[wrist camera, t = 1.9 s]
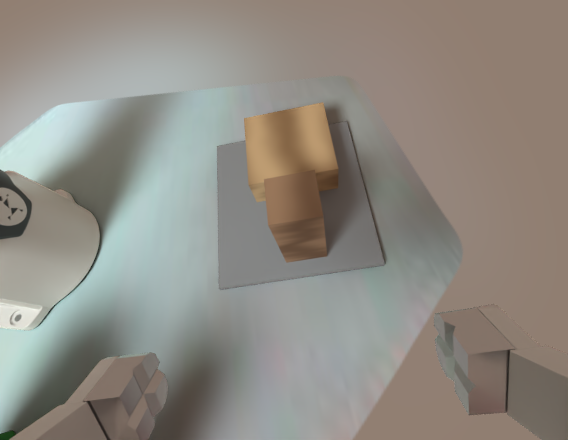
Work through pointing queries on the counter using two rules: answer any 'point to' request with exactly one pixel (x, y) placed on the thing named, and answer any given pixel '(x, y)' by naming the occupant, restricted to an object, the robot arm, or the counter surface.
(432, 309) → the counter surface
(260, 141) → the oak base block
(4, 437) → the milk carton
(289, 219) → the walnut column
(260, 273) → the grey mat
